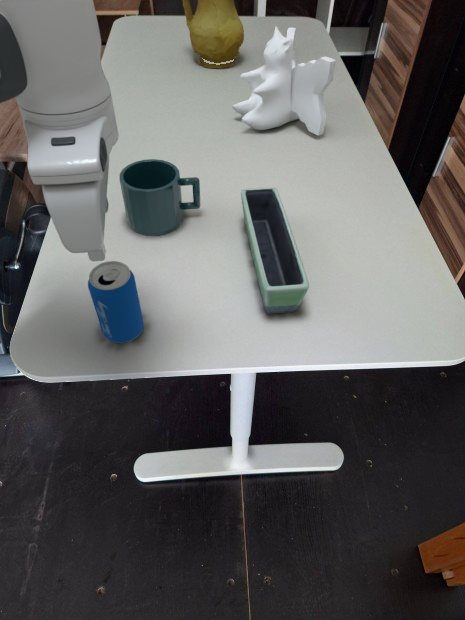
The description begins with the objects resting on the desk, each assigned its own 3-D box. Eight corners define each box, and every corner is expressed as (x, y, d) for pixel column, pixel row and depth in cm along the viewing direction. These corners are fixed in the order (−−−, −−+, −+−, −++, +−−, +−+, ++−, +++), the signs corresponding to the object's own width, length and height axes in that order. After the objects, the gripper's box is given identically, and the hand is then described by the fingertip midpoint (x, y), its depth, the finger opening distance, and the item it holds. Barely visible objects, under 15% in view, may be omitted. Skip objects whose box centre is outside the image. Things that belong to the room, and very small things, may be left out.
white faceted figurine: (222, 107, 125) (222, 19, 109) (292, 98, 130) (302, 13, 114) (253, 150, 109) (258, 55, 93) (331, 138, 114) (348, 46, 98)
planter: (238, 218, 91) (239, 187, 85) (273, 216, 91) (277, 186, 86) (261, 321, 72) (264, 290, 67) (304, 317, 73) (311, 286, 68)
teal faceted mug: (127, 238, 86) (118, 193, 78) (128, 204, 93) (120, 160, 86) (203, 232, 87) (202, 187, 80) (198, 199, 95) (196, 156, 87)
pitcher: (214, 74, 139) (212, -25, 122) (178, 61, 149) (172, -33, 132) (254, 64, 147) (257, -31, 130) (218, 51, 157) (216, -38, 140)
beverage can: (94, 336, 70) (75, 280, 61) (119, 309, 73) (105, 253, 65) (128, 352, 68) (113, 297, 59) (152, 323, 72) (142, 268, 63)
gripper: (52, 84, 52) (80, 187, 62) (24, 179, 38) (66, 291, 49) (107, 81, 53) (126, 184, 63) (98, 174, 39) (124, 286, 49)
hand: (100, 232), depth 56 cm, fingers open, 8 cm apart
